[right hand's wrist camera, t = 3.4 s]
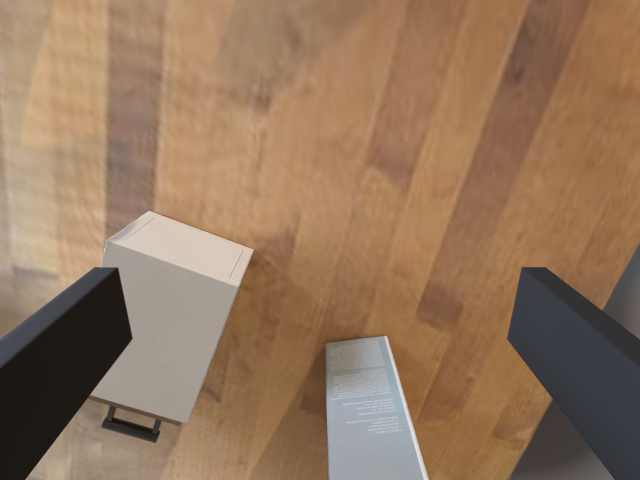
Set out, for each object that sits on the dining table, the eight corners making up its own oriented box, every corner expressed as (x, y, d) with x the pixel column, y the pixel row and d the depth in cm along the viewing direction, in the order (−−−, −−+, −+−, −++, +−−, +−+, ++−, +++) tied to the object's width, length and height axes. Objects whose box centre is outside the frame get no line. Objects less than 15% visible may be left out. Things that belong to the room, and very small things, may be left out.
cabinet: (209, 367, 46) (187, 424, 38) (116, 337, 45) (72, 390, 37) (254, 249, 41) (238, 286, 33) (149, 210, 39) (106, 240, 31)
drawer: (185, 418, 48) (166, 465, 42) (104, 394, 46) (72, 438, 40) (238, 275, 41) (224, 306, 35) (144, 241, 39) (112, 268, 33)
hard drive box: (398, 432, 50) (445, 636, 31) (339, 439, 50) (351, 644, 32) (388, 332, 44) (438, 506, 26) (322, 340, 45) (324, 518, 26)
